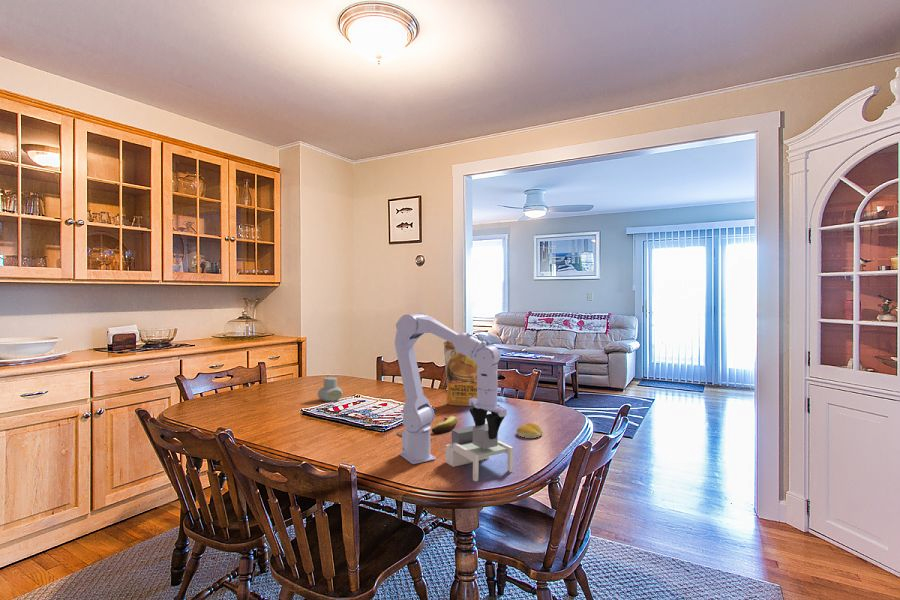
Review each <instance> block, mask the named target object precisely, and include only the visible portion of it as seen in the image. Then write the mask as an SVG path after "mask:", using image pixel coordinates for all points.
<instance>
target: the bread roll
mask: <svg viewBox="0 0 900 600" xmlns="http://www.w3.org/2000/svg"><path fill="white" fill-rule="evenodd" d="M543 433H544V432H543V429H542V428H541V427H540V425H538V424H536V423H533V422H529V423H526V424H524V425H520V426H519V427H518V428H517V430H516V434H517V436H519V437H520V436H521V437H520V438H522V437H525V438H524V439H526V438H536V437H538V438H540V437H539V436H541V435H542V436H543V435H544V434H543ZM542 436H541V437H542ZM536 439H537V438H536Z"/></svg>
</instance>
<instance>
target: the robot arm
mask: <svg viewBox="0 0 900 600" xmlns="http://www.w3.org/2000/svg"><path fill="white" fill-rule="evenodd" d="M395 327H396V331H395V332H396V333H395V338H394V347H395V351H396V355H397V357H396V358H397V361H398V365H399V371H400V375H401V376H400V377H401V381H402V385H403V390H404V395H405V401H404V404H403V406H402V412H403V414H402V425H403V427H404V429H403V431H402V432H403V433H402V436H401V452H399V453H398V454H399V455H400V456H401V457H402V458H403V459H405V460H406V461H408V462H409V463H410V464H412V465H416V464H421V463H425V462H429V461H435V460H436V459H437V457H435V456H434V455H432V454H431V441H430V437H431V432H430V430H432V428H431V426H432V424H431V423H432V422H433V421H435V420H434V419H435V417H436V416H435V410H434V409H433V407H432V406H431V403H430V400H429V399H428V397H426V396H425V394H424V390H423V385H422V380H421V375H420V372H419V367H418V362H417V358H416V353H415V348H414V347H415V346H414V345H415V344H416V342H417V341H418V339H419V338H420V337H421V336H422V335H424V334H431V335H435V336H436V337H438V338H441V340H442V339H443V340H445V342H446V341H448V342H451V343H453V344H454V348H455V350H457V351H458V352H460V353H462V354H464V355H466V356H467V357H469V358H471V359H473V360H475V363H476V364H477V366H478V372H477V399H476V398H471V399H469V405H470V406H474V407H472V408H470V409H469V413H470V415H471V417H472V419H473V423H474V426H478V425H483V424H488V433H489V439H495V438H496V437H497V434H498V433H499V430H500V427H501V424H502V422H503V420H504V419H505V417H507V412H508V411H507V410H508V409H507V408H505V407H503V406H502V405H500V404H499V403H498V377H499V375H498V365H499V364H498V363H499V361H500V360H501V354H502V353H501V351H500V349H499V348H498V347H497V346H496V345H495V344H491V343H490V344H487V342H486V341H485V340H482V341H481V340H479V339H477V338H476V337H474V336H473V333H472V332H462V333H459V332H456V331H455V330H453V329H452V328H450V327H449V326H447V325H445V324H443V323H442V322H440V321H439V320H437V319H435V318H434V317H433V316H430V315H427V314H426V313H424V312H418V313H412V314H403V315H402V316H401V317H400V318H399V319H398V320H397V322H396V323H395ZM486 344H487V345H486ZM470 406H469V407H470ZM488 412H489V413H488ZM486 422H487V423H486Z"/></svg>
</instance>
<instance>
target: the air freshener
mask: <svg viewBox="0 0 900 600" xmlns="http://www.w3.org/2000/svg"><path fill="white" fill-rule="evenodd" d="M343 394H344V391H343V390H342V388H340V387H339V386H338V378H337V377H336V376H335V377H334V376H328V377H326V376H325V377H324V378H323V387H321V388H320V389H319V390H318V391H317V397H318V398H319V399H320V400H322V401H324V402H328V403H329V402H331V403H332V402H336V401H338V400H339V399H341V398H342V397H343Z"/></svg>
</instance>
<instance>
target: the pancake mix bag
mask: <svg viewBox="0 0 900 600" xmlns="http://www.w3.org/2000/svg"><path fill="white" fill-rule="evenodd" d="M486 345H488V344H487V343H486ZM443 348H444V349H443V350H444V353H443V355H444V368H445V377H446V392H447V394H446V401H445V405H449V406H458V407H472V408H473V407H474V406H470V405H469V399H471V398H476V399H477V372H478V366H477V364H476V363H475V360H473V359H471V358H469V357H467V356H466V355H464V354H462V353H460V352H458V351H457V350H455V348H454V344H453V343H451V342H448V341H446V340H445V341H444V342H443Z"/></svg>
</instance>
